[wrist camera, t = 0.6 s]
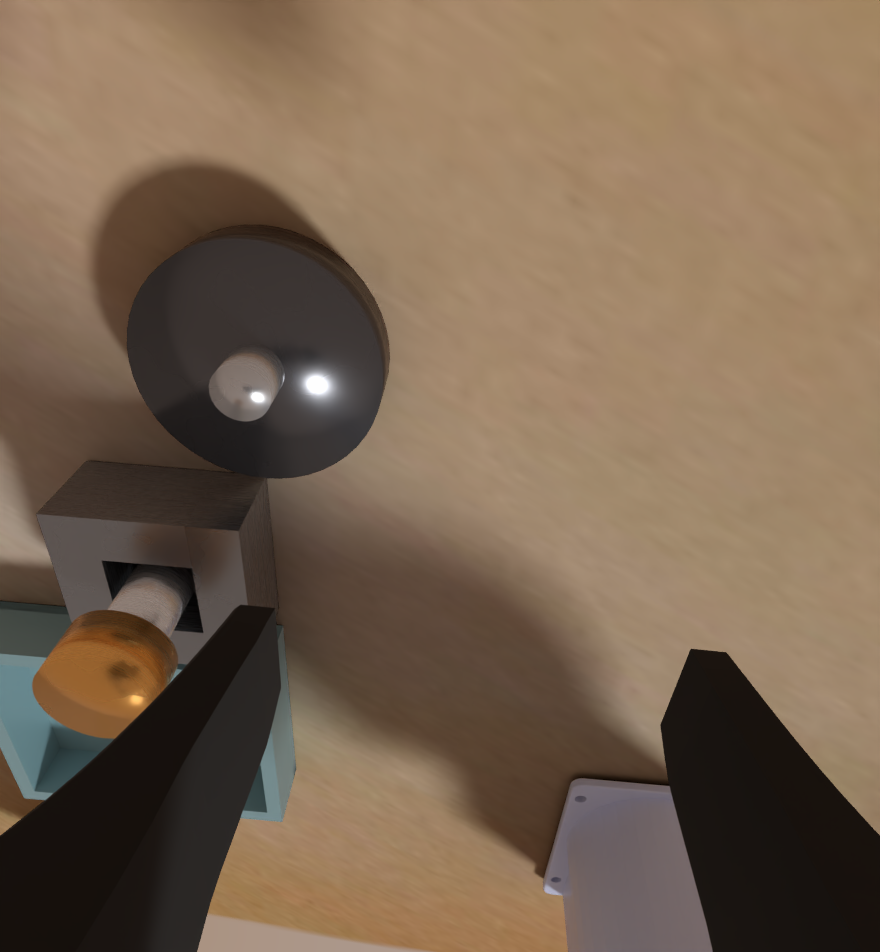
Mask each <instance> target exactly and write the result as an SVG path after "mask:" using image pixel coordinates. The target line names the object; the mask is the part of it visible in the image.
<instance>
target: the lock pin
mask: <svg viewBox="0 0 880 952" xmlns="http://www.w3.org/2000/svg"><path fill="white" fill-rule="evenodd" d="M194 591H195V583H194V578H193V572H192V568H184V567H172V566H160V565H149V564H137V565H136V567H135V568H134V570H133V571H132V573H131V574H130V576H129V577H128V579H127V580H126V582H125V583H124V585H123V587H122V588H121V590H120V591H119V593H118V594H117V596H116V597H115V599H114V600H113V602H112V603H111V605H110V606H109V608H108V609H107V610H96V611H91V612H88V613H85V614H83V615H81V616H79V617H78V618H76V619H75V620H74V621H73V622H72V623H71V625H70V626H69V628H68V629H67V630H66V632H65V633H64V635H63V636H62V637H61V639H60V640H59V642H58V643H57V644H56V646H55V647H54V649H53V650H52V652H51V653H50V654H49V656H48V657H47V659H46V660H45V661H44V663H43V664H42V666H41V667H40V668H39V670H38V671H37V673H36V674H35V676H34V678H33V682H32V690H33V694H34V696H35V698H36V700H37V702H38V703H39V705H40V706H41V707H42V709H43V710H44V711H45V712H46V713H47V714H48V715H49V716H51V717H52V718H53V719H55V720H56V721H58V722H59V723H61V724H62V725H64V726H66V727H68V728H70V729H72V730H75V731H77V732H80V733H83V734H86V735H89V736H94V737H99V738H109V739H115V738H116V737H117V736H118V735H119V734H120V733H121V732H122V731H123V730H124V729H125V728H126V727H127V726H128V725H129V724H130V723H131V722H132V721H133V720H134V719H135V718H136V717H138V716H139V715H140V714H141V713H142V712H143V711H144V710H145V709H146V708H147V707H148V706H149V705H150V704H151V703H152V702H153V701H154V699H155V698H156V697H157V696H158V695H159V694H160V693H161V692H162V691H163V690H164V689H165V688H166V687H167V686H168V685H169V683H170V682H171V680H172V678H173V676H174V674H175V672H176V670H177V667H178V654H177V651H176V648H175V646H174V644H173V643H172V641H171V640H170V639H169V638H170V636H171V635H172V633H173V631H174V629H175V627H176V625H177V623H178V621H179V619H180V618H181V616H182V614H183V612H184V610H185V608H186V606H187V604H188V602H189V601H190V599H191V597H192V595H193V593H194Z"/></svg>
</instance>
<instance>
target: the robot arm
mask: <svg viewBox="0 0 880 952" xmlns="http://www.w3.org/2000/svg"><path fill="white" fill-rule="evenodd" d="M280 690H281V677H280V664H279V651H278V638H277V625H276V612H275V608H270V607H260V606H250V605H239V606H238V607H236V608H235V609H234V610H233V611H232V612H231V614H230V615H229V616H228V617H227V619H226V620H225V621H224V622H223V623H222V625H221V626H220V627H219V628H218V629H217V631H216V632H215V633H214V634H213V635H212V637H211V638H210V639H209V640H208V641H207V642H206V644H205V645H204V646H203V647H202V648H201V649H200V651H199V652H198V653H197V654H196V655H195V656H194V657H193V658H192V660H191V661H190V662H189V663H188V664H187V665H186V666H185V667H184V668H183V670H182V671H181V672H180V673H179V674H178V675H177V676H176V677H175V678H174V679H173V680H172V681H171V682H170V683H169V685H168V686H167V687H166V688H165V689H164V690H163V691H162V692H161V693H160V694H159V695H158V696H157V697H156V698H155V699H154V701H153V702H152V703H151V704H150V705H149V706H148V707H147V708H146V709H145V710H144V711H143V712H142V713H141V714H140V715H139V716H138V717H136V718H135V719H134V720H133V721H132V722H131V723H130V724H129V725H128V726H127V727H126V728H125V729H124V730H123V731H122V732H121V733H120V734H119V735H118V736H117V737H116V738H115V739H114V740H113V741H112V742H111V743H110V744H109V745H108V746H107V747H106V748H104V749H103V750H102V751H101V752H100V753H99V754H98V755H97V756H96V757H95V758H93V759H92V760H91V761H90V762H89V763H88V764H87V765H86V766H85V767H83V768H82V769H81V770H80V771H79V772H78V773H77V774H76V775H74V776H73V777H72V778H71V779H70V780H68V781H67V782H66V783H65V784H64V785H63V786H61V787H60V788H59V789H58V790H57V791H56V792H54V793H53V794H52V795H51V796H50V797H48V798H47V799H46V800H45V801H44V802H42V803H41V804H40V805H38V806H37V807H36V808H35V809H33V810H32V811H31V812H30V813H28V814H27V815H26V816H25V817H23V818H22V819H21V820H19V821H18V822H17V823H16V824H14V825H13V826H12V827H11V828H9V829H8V830H7V831H6V832H4V833H3V834H2V835H0V952H197V950H198V946H199V942H200V939H201V935H202V931H203V928H204V924H205V920H206V917H207V913H208V909H209V906H210V902H211V899H212V896H213V893H214V890H215V887H216V884H217V881H218V878H219V875H220V872H221V869H222V866H223V864H224V861H225V858H226V855H227V853H228V850H229V847H230V845H231V842H232V839H233V836H234V834H235V831H236V828H237V826H238V823H239V820H240V818H241V815H242V812H243V809H244V807H245V804H246V801H247V799H248V796H249V793H250V790H251V788H252V785H253V782H254V779H255V777H256V774H257V771H258V768H259V766H260V763H261V760H262V757H263V755H264V752H265V749H266V746H267V743H268V739H269V735H270V731H271V728H272V724H273V720H274V716H275V711H276V707H277V703H278V699H279V695H280ZM661 733H662V740H663V748H664V756H665V762H666V769H667V775H668V781H669V786H664V785H653V784H642V783H630V782H619V781H608V780H597V779H586V778H579V779H575V780H574V781H572V783H571V784H570V787H569V791H568V795H567V798H566V802H565V805H564V809H563V812H562V816H561V819H560V823H559V826H558V830H557V834H556V837H555V841H554V844H553V848H552V851H551V855H550V858H549V862H548V866H547V869H546V873H545V876H544V880H543V890H544V891H545V892H546V893H548V894H554V895H563V901H564V912H565V924H566V935H567V946H568V952H880V835H879V834H878V833H877V832H876V831H875V830H874V829H873V828H872V827H871V826H870V825H869V824H868V822H867V821H866V820H865V819H864V818H863V817H862V816H861V815H860V814H859V813H858V812H857V810H856V809H855V808H854V807H853V806H852V805H851V804H850V803H849V802H848V801H847V799H846V798H845V797H844V796H843V795H842V794H841V793H840V792H839V791H838V789H837V788H836V787H835V786H834V785H833V784H832V783H831V781H830V780H829V779H828V778H827V777H826V776H825V775H824V773H823V772H822V771H821V770H820V769H819V767H818V766H817V765H816V764H815V763H814V761H813V760H812V759H811V758H810V757H809V755H808V754H807V753H806V752H805V751H804V749H803V748H802V747H801V746H800V745H799V743H798V742H797V741H796V740H795V739H794V737H793V736H792V735H791V734H790V732H789V731H788V730H787V729H786V727H785V726H784V725H783V724H782V722H781V721H780V720H779V719H778V717H777V716H776V715H775V714H774V712H773V711H772V710H771V709H770V707H769V706H768V705H767V704H766V702H765V701H764V700H763V698H762V697H761V696H760V695H759V693H758V692H757V691H756V690H755V688H754V687H753V686H752V684H751V683H750V682H749V681H748V679H747V678H746V677H745V675H744V674H743V673H742V672H741V670H740V669H739V668H738V667H737V665H736V664H735V663H734V661H733V660H732V659H731V658H730V656H729V655H728V654H727V653H726V652H717V651H707V650H697V649H691V650H690V652H689V655H688V657H687V660H686V662H685V665H684V667H683V670H682V672H681V675H680V677H679V680H678V682H677V685H676V687H675V690H674V692H673V695H672V697H671V700H670V702H669V705H668V707H667V710H666V712H665V715H664V717H663V720H662V722H661Z"/></svg>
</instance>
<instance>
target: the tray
mask: <svg viewBox="0 0 880 952" xmlns="http://www.w3.org/2000/svg"><path fill="white" fill-rule="evenodd" d="M71 623H72V622H71V619H70V616H69V613H68V610H67V607H62V606H51V605H39V604H27V603H16V602H4V601H0V748H1V750H2V752H3V754H4V757H5V759H6V761H7V763H8V765H9V767H10V769H11V771H12V773H13V776H14V778H15V780H16V782H17V784H18V786H19V788H20V790H21V792H22V795H23V797H24V798H26V799H37V800H46V799H47V798H48V797H50V796H51V795H52V794H53V793H54V792H56V791H57V790H58V789H59V788H60V787H61V786H63V785H64V784H65V783H66V782H67V781H68V780H70V779H71V778H72V777H73V776H74V775H76V774H77V773H78V772H79V771H80V770H81V769H82V768H83V767H85V766H86V765H87V764H88V763H89V762H90V761H91V760H92V759H93V758H95V757H96V756H97V755H98V754H99V753H100V752H101V751H102V750H103V749H104V748H106V747H107V746H108V745H109V744H110V743H111V742H112V741H113V740H114V739H109V738H99V737H94V736H89V735H86V734H83V733H80V732H77V731H75V730H72V729H70V728H68V727H66V726H64V725H62V724H61V723H59V722H58V721H56V720H55V719H53V718H52V717H51V716H49V715H48V714H47V713H46V712H45V711H44V710H43V709H42V707H41V706H40V705H39V703H38V702H37V700H36V698H35V696H34V694H33V690H32V682H33V678H34V676H35V674H36V673H37V671H38V670H39V668H40V667H41V666H42V664H43V663H44V661H45V660H46V659H47V657H48V656H49V654H50V653H51V652H52V650H53V649H54V647H55V646H56V644H57V643H58V642H59V640H60V639H61V637H62V636H63V635H64V633H65V632H66V630H67V629H68V628H69V626H70V625H71ZM277 638H278V651H279V664H280V677H281V690H280V695H279V699H278V703H277V707H276V711H275V716H274V720H273V724H272V728H271V731H270V735H269V739H268V743H267V746H266V749H265V752H264V755H263V757H262V760H261V763H260V766H259V768H258V771H257V774H256V777H255V779H254V782H253V785H252V788H251V790H250V793H249V796H248V799H247V801H246V804H245V807H244V809H243V812H242V815H241V818H245V819H256V820H267V821H278V822H282V821H283V817H284V813H285V810H286V806H287V802H288V798H289V794H290V790H291V787H292V783H293V779H294V775H295V771H296V763H295V752H294V741H293V730H292V719H291V708H290V697H289V686H288V675H287V664H286V653H285V642H284V631H283V626H281V625H277ZM186 665H187V664H178V667H177V670H176V672H175V674H174V676H173V678H172V680H173V679H174V678H175V677H176V676H177V675H178V674H179V673H180V672H181V671H182V670H183V668H184V667H185V666H186ZM172 680H171V681H172Z"/></svg>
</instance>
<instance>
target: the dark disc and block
mask: <svg viewBox="0 0 880 952" xmlns="http://www.w3.org/2000/svg"><path fill="white" fill-rule="evenodd" d="M127 349H128V357H129V363H130V366H131V370H132V374H133V377H134V379H135V382H136V384H137V387H138V389H139V392H140V393H141V395H142V397H143V399H144V401H145V402H146V404H147V406H148V407H149V409H150V410H151V411H152V413H153V414H154V416H155V417H156V419H157V420H158V421H159V422H160V423H161V424H162V425H163V426H164V428H165V429H166V430H167V431H168V432H169V433H170V434H171V435H172V436H173V437H175V438H176V439H177V440H178V441H179V442H180V443H181V444H183V445H184V446H185V447H187V448H188V449H189V450H191V451H192V452H194V453H195V454H197V455H199V456H200V457H202V458H204V459H205V460H207V461H209V462H211V463H213V464H216V465H218V466H220V467H222V468H225V469H228V470H231V471H233V472H237V473H228V472H216V471H204V470H192V469H180V468H168V467H156V466H144V465H132V464H120V463H108V462H96V461H86V462H85V463H84V464H83V465H82V466H81V467H80V468H79V469H78V470H77V471H76V472H75V473H74V474H73V476H72V477H71V478H70V479H69V480H68V481H67V482H66V483H65V484H64V485H63V486H62V487H61V488H60V489H59V490H58V491H57V492H56V493H55V495H54V496H53V497H52V498H51V499H50V500H49V501H48V502H47V503H46V504H45V505H44V506H43V507H42V508H41V509H40V510H39V511H38V512H37V514H36V515H37V518H38V522H39V525H40V528H41V531H42V534H43V537H44V540H45V543H46V546H47V549H48V552H49V555H50V558H51V561H52V564H53V567H54V570H55V573H56V577H57V580H58V583H59V586H60V589H61V592H62V595H63V598H64V601H65V604H66V607H67V610H68V613H69V616H70V619H71V622H73V621H74V620H75V619H76V618H78V617H79V616H81V615H83V614H85V613H88V612H91V611H96V610H107V609H108V608H109V606H110V605H111V603H112V602H113V600H114V599H115V597H116V596H117V594H118V593H119V591H120V590H121V588H122V587H123V585H124V583H125V582H126V580H127V579H128V577H129V576H130V574H131V573H132V571H133V570H134V568H135V567H136V565H137V564H149V565H160V566H172V567H184V568H192V572H193V578H194V583H195V591H194V593H193V595H192V597H191V599H190V601H189V602H188V604H187V606H186V608H185V610H184V612H183V614H182V616H181V618H180V619H179V621H178V623H177V625H176V627H175V629H174V631H173V633H172V635H171V636H170V638H169V639H170V640H171V641H172V643H173V644H174V646H175V648H176V651H177V654H178V664H188V663H189V662H190V661H191V660H192V658H193V657H194V656H195V655H196V654H197V653H198V652H199V651H200V649H201V648H202V647H203V646H204V645H205V644H206V642H207V641H208V640H209V639H210V638H211V637H212V635H213V634H214V633H215V632H216V631H217V629H218V628H219V627H220V626H221V625H222V623H223V622H224V621H225V620H226V619H227V617H228V616H229V615H230V614H231V612H232V611H233V610H234V609H235V608H236V607H238V606H239V605H250V606H260V607H270V608H275V612H276V615H277V612H278V609H279V605H278V595H277V584H276V573H275V563H274V552H273V541H272V531H271V520H270V509H269V499H268V488H267V478H292V477H299V476H304V475H309V474H312V473H315V472H318V471H321V470H323V469H325V468H327V467H329V466H331V465H333V464H335V463H337V462H338V461H340V460H341V459H343V458H344V457H346V456H347V455H348V454H349V453H350V452H351V451H353V450H354V449H355V448H356V447H357V446H358V445H359V443H360V442H361V441H362V440H363V439H364V437H365V436H366V434H367V433H368V431H369V429H370V428H371V426H372V424H373V422H374V420H375V417H376V415H377V412H378V409H379V406H380V402H381V399H382V396H383V392H384V389H385V385H386V381H387V377H388V373H389V362H390V352H389V340H388V335H387V330H386V326H385V323H384V320H383V317H382V314H381V312H380V309H379V307H378V305H377V303H376V301H375V299H374V297H373V296H372V294H371V293H370V291H369V289H368V288H367V286H366V285H365V283H364V282H363V281H362V280H361V279H360V277H359V276H358V275H357V274H356V272H355V271H354V270H353V269H352V268H351V267H350V266H348V265H347V264H346V263H345V262H344V261H343V260H342V259H341V258H340V257H338V256H337V255H336V254H334V253H333V252H332V251H330V250H329V249H328V248H326V247H324V246H323V245H321V244H319V243H317V242H316V241H314V240H312V239H310V238H308V237H305V236H303V235H300V234H298V233H296V232H292V231H289V230H285V229H282V228H278V227H271V226H264V225H240V226H233V227H227V228H223V229H220V230H216V231H213V232H211V233H208V234H206V235H204V236H202V237H200V238H198V239H196V240H195V241H193V242H192V243H190V244H189V245H188V246H186V247H185V248H183V249H182V250H180V251H179V252H177V253H176V254H174V255H173V256H172V257H170V258H169V259H167V260H166V261H164V262H163V263H162V264H161V265H160V266H158V267H157V268H156V269H155V270H154V271H153V272H152V273H151V274H150V275H149V277H148V278H147V279H146V281H145V282H144V283H143V285H142V286H141V288H140V290H139V292H138V294H137V296H136V298H135V300H134V302H133V305H132V309H131V312H130V315H129V321H128V328H127ZM240 473H241V474H240Z"/></svg>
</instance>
